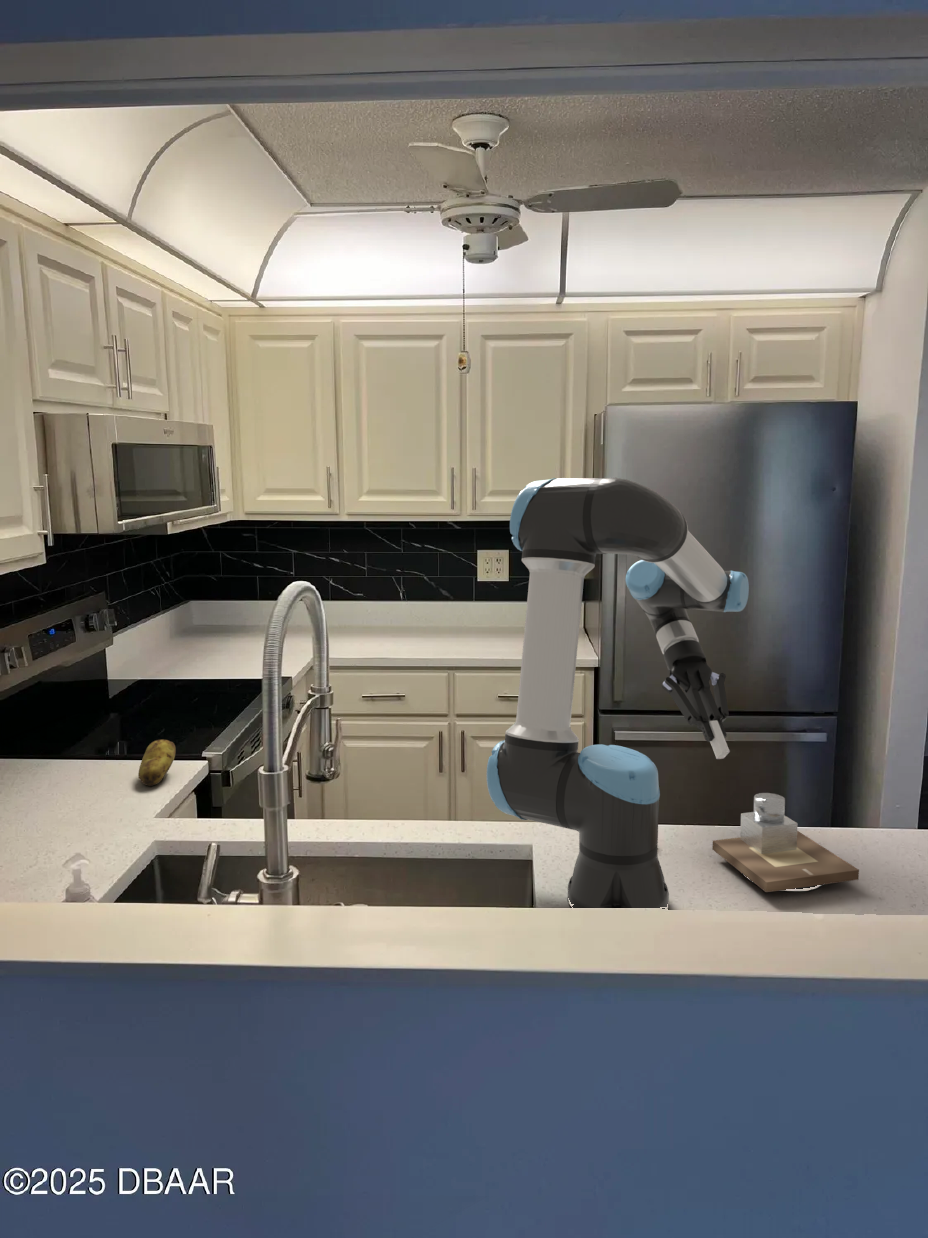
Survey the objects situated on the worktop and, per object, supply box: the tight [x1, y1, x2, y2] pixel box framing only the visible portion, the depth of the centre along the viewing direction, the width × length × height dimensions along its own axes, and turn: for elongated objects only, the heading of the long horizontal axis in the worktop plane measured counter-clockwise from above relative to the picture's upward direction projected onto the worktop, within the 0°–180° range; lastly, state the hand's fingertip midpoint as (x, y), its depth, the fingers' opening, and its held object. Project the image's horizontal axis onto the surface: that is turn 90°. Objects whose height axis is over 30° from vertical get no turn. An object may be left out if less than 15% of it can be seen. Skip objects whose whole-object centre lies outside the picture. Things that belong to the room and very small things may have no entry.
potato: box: [138, 739, 176, 787], centre depth 190 cm, size 8×13×8 cm, turn 166°
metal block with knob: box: [739, 792, 798, 854], centre depth 142 cm, size 6×6×8 cm
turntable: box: [712, 830, 860, 893], centre depth 139 cm, size 16×16×2 cm
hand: (723, 755), depth 157 cm, fingers closed
